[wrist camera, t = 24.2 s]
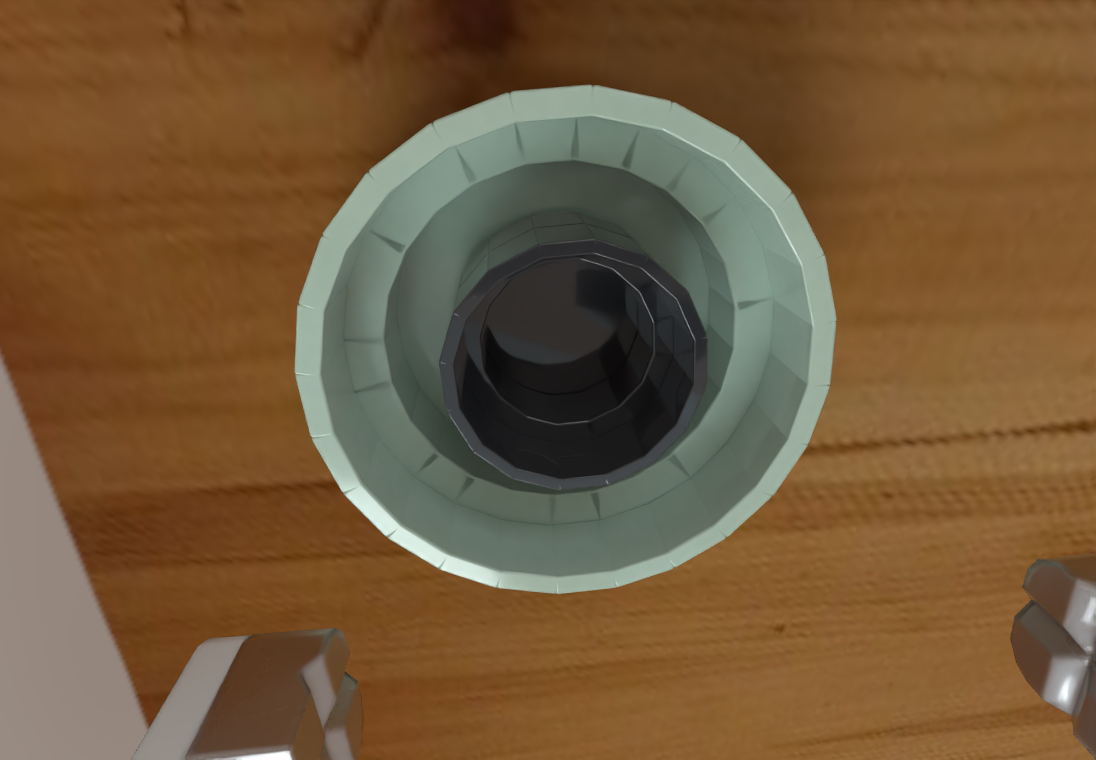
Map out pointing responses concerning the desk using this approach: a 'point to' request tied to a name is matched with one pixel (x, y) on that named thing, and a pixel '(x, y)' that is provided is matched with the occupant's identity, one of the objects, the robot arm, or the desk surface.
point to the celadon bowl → (427, 297)
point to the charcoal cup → (571, 353)
